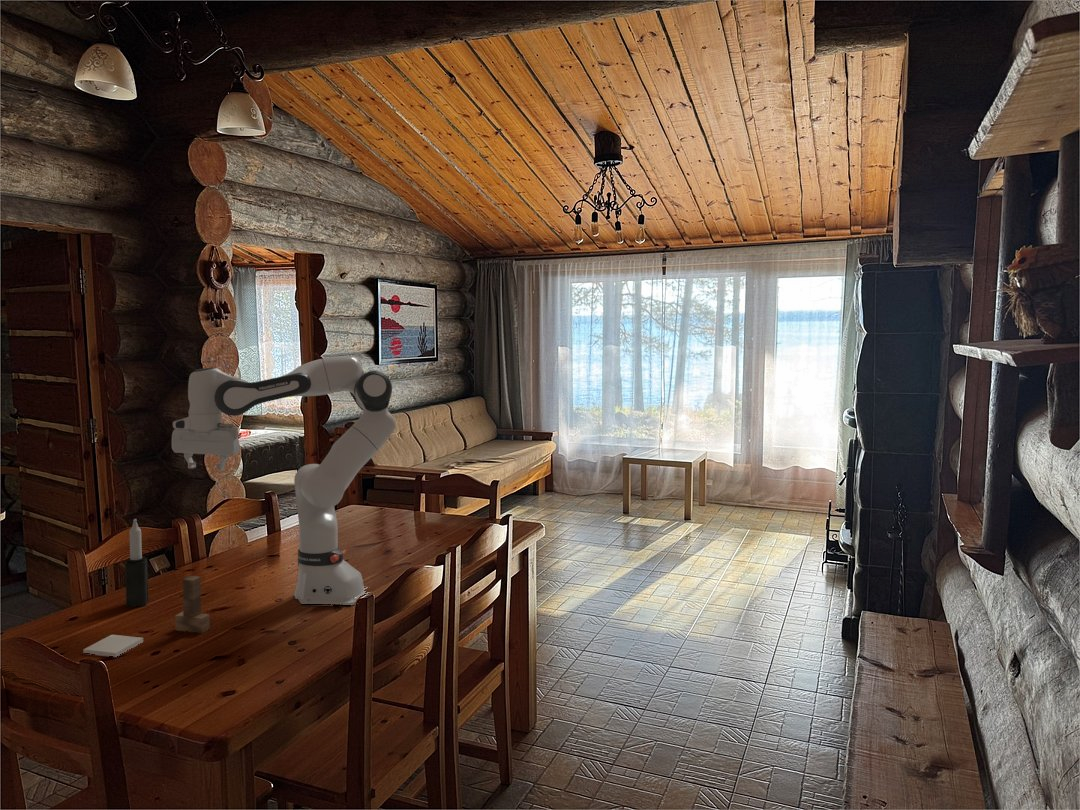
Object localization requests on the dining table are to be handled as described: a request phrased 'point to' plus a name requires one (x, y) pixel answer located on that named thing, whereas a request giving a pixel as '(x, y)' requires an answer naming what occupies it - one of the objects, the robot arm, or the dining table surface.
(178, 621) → the grey t-shaped post
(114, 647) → the tile
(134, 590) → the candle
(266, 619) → the dining table surface
